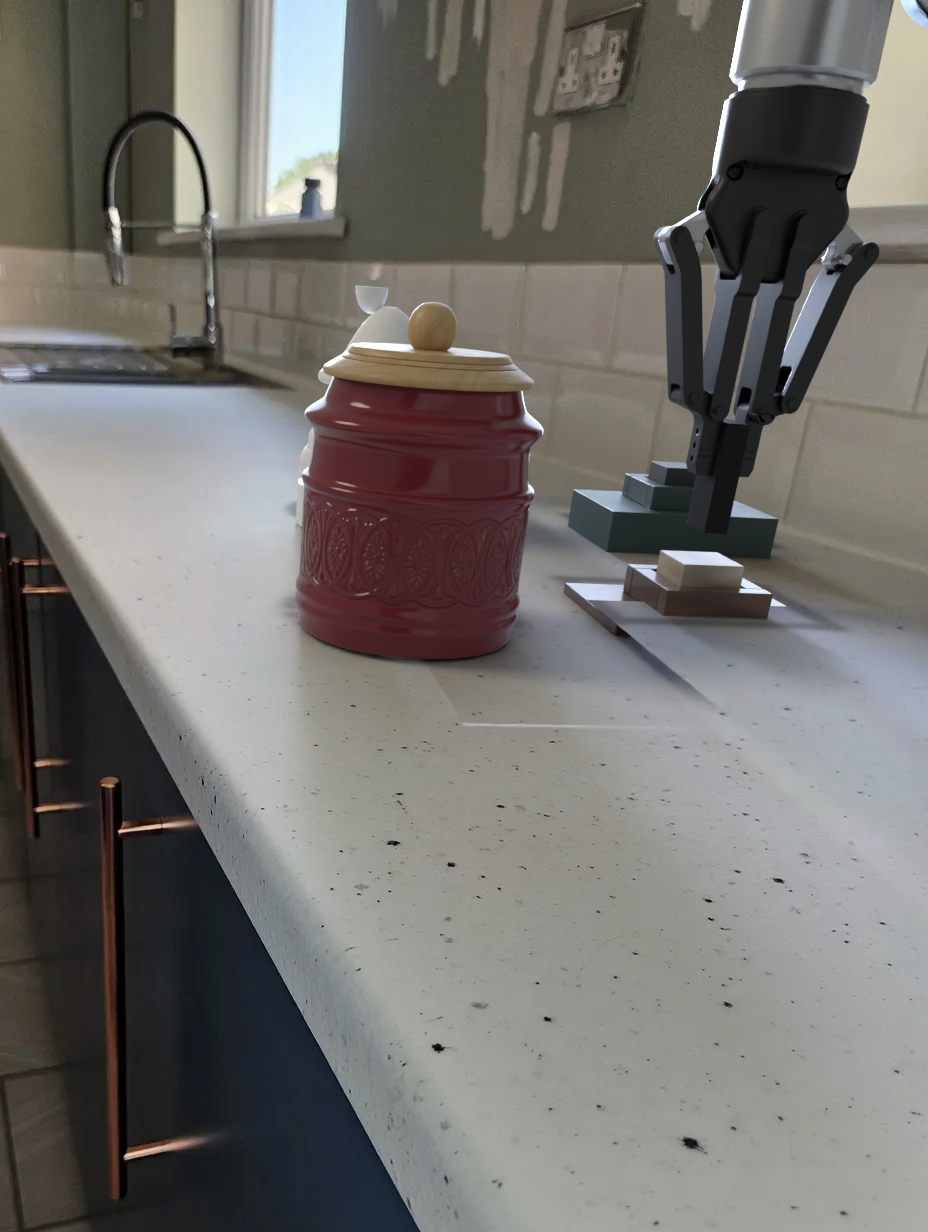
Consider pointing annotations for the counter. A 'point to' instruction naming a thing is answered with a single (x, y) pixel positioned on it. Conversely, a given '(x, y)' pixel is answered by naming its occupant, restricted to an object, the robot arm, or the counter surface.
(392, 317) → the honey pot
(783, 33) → the robot arm
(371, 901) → the counter surface
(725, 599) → the stepped block pedestal
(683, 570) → the ivory key
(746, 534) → the tiered step pyramid
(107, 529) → the counter surface
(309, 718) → the counter surface
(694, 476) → the ebony key
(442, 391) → the kitchen canister
